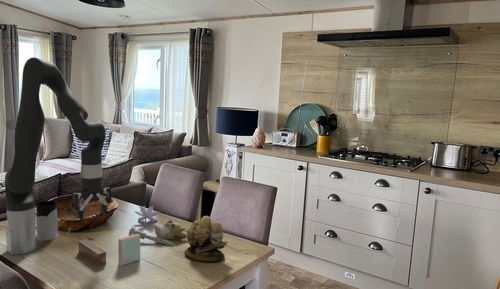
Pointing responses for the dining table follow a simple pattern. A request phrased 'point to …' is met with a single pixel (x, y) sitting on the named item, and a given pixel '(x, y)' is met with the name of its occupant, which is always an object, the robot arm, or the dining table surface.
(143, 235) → the caliper
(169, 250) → the dining table surface
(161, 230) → the ceramic sculpture
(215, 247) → the owl figurine
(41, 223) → the glass holder
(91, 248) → the walnut bar
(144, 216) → the water lily
